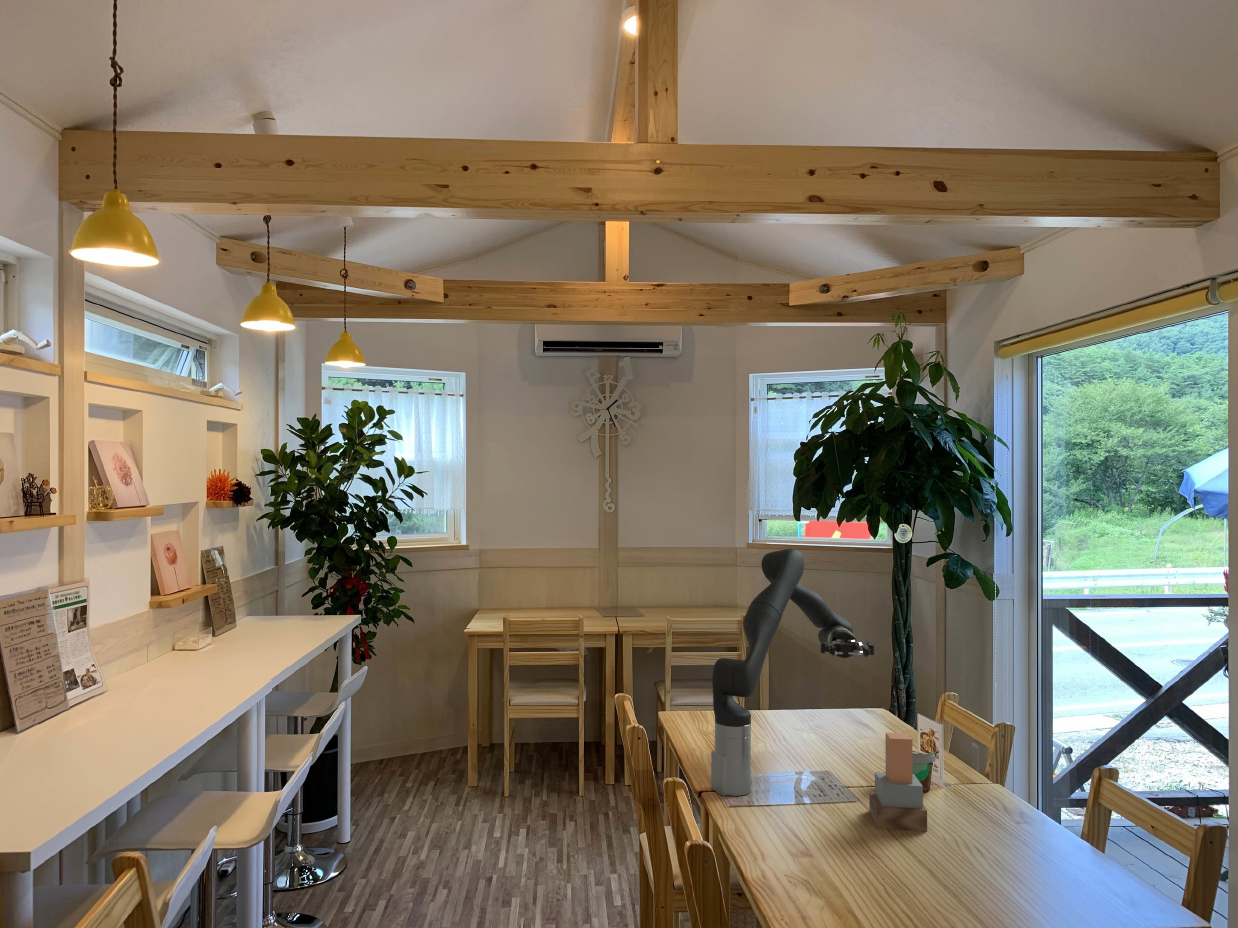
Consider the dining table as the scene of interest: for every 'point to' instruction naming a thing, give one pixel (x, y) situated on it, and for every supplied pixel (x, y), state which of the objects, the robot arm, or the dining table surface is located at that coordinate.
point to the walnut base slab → (897, 816)
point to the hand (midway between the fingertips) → (849, 652)
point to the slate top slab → (898, 792)
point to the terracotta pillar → (899, 757)
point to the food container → (923, 768)
